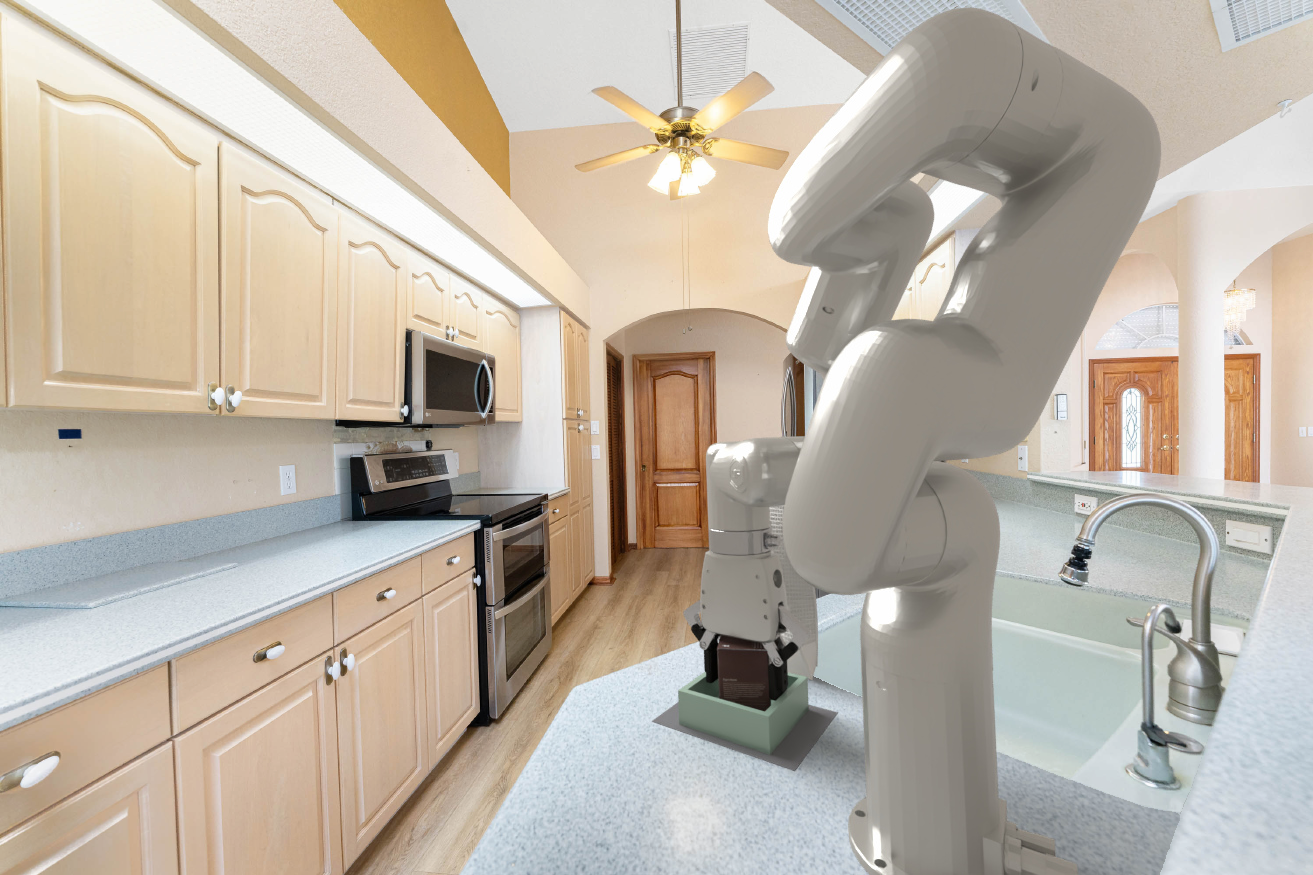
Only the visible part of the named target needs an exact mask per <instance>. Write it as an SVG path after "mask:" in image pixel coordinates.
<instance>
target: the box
mask: <svg viewBox="0 0 1313 875" xmlns="http://www.w3.org/2000/svg"><path fill="white" fill-rule="evenodd" d="M767 652H768V651H767V650H766V649H765V647H764V646H763V644H762V643H759V642H753V641H748V640H743V639H738V638H733V637H728V636H724V635H720V638H719V640H718V647H717V657H718V682H719V699H722V700H726V701H729V702H733V703H736V704H740V705H743V706H747V707H750V708H754V709H757V710H761V711H764V712H765V711H766V710H767V709H768V708H769V707H770V706H771V698H769V679H768V666H769V655H768V653H767Z"/></svg>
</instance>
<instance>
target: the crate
mask: <svg viewBox="0 0 1313 875" xmlns="http://www.w3.org/2000/svg"><path fill="white" fill-rule="evenodd" d="M808 680H809V679H808V678H807V677H805V676H801V675H797V674H792V673H788V688H787V690H786V691H785V692H784V693H783V694H782V695H781V696H780V697H779V698H778V699H777V700H776V701H774V700H771V706H770V707H769V708H768V709H767V710H766V711H765V712H764V711H761V710H757V709H754V708H750V707H747V706H743V705H740V704H736V703H733V702H729V701H726V700H722V699H719V682H718V679H717V680H716V681H714V682H713V683H711V684H710V683H707V682H706V672H705V671H703V672H702V673H701V674H699V675H698V676H697V677H695V678H694V679H692V680H691V681H690V682H688V683H686V684H685V685H684V686H682V687H681V688H679V689H678V690H677V693H678V695H677V696H678V697H677V698H678V700H677V702H678V703H679V724H680V725H683V726H686V727H689V728H692V729H695V730H698V731H701V732H704V733H707V734H710V735H712V736H715V737H718V738H721V739H724V740H727V741H730V742H733V743H736V744H739V745H742V746H745V747H748V748H751V749H754V750H757V751H760V752H763V753H766V754H769V755H770V754H771V753H772V752H773V751H774V750H775V748H776V747H777V746H778V745H779V744H780V743H781V741H782V740H783V739H784V738H785V737H786V736H787V734H788V733H789V732H790V731H791V730H792V729H793V727H794V726H795V725H796V724H797V723H798V722H799V720H800V719H801V718H802V717H803V716H804V714H805V713H806V712H807V711H808V710H809V705H810V704H809V682H808Z"/></svg>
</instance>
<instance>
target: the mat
mask: <svg viewBox="0 0 1313 875" xmlns="http://www.w3.org/2000/svg"><path fill="white" fill-rule="evenodd" d="M838 713H839V712H837V711H834V710H830V709H826V708H823V707H818V706H815V705H811V704H809V710H808V711H807V712H806V713H805V714H804V716H803V717H802V718H801V719H800V720H799V722H798V723H797V724H796V725H795V726H794V727H793V729H792V730H791V731H790V732H789V733H788V734H787V736H786V737H785V738H784V739H783V740H782V741H781V743H780V744H779V745H778V746H777V747H776V748H775V750H774V751H773V752H772V753H771V754H770V755H769V754H766V753H763V752H760V751H757V750H754V749H751V748H748V747H745V746H742V745H739V744H736V743H733V742H730V741H727V740H724V739H721V738H718V737H715V736H712V735H710V734H707V733H704V732H701V731H698V730H695V729H692V728H689V727H686V726H683V725H680V724H679V703H678V701H677V702H675V703H674V704H673V705H672V706H671V707H669V708H667V710H665V711H664V712H662V713H661V714H659V715H658V716H657V717H656V718H654V719H653V720H652V721H651V722H652V723H654V724H657V725H660V726H663V727H666V728H669V729H672V730H674V731H677V732H681V733H683V734H687V735H689V736H693V737H694V738H695V737H696V738H699V739H701V740H704V741H706V742H708V743H709V742H710V743H712V744H715V745H718V746H721V747H724V748H726V749H730V750H732V751H735V752H738V753H741V754H743V755H746V756H747V755H748V756H750V757H753V758H755V759H759V760H762V761H764V762H768V763H770V764H773V765H776V766H779V767H780V768H784V769H787V770H791V771H793V772H795V771H796V770H797V769H798V767H800V764H801V763H802V762H803V760H804V759H805V758H806V757H807V756H808V754H809V753H810V751H811V750H812V748H813V747H814V746H815V744H816V743H817V742H818V740H819V739H820V738H821V737H822V735H823V733H824V732H825V731H826V730H827V728H828V726H829V725H830V724H831V723H832V721H833V720H834V719H835V717H836V716H837V715H838Z"/></svg>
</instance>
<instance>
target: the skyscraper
mask: <svg viewBox="0 0 1313 875" xmlns="http://www.w3.org/2000/svg"><path fill="white" fill-rule="evenodd" d="M769 509H770V528H772V534H774V535H780V536H781V546H780V547H775V546H774V547H773V549H772V550H771V552H772V553H777V554H778V556H779V559H780V563H781V567H782V572H783V577H784V582H785V589H786V597H787V605H788V611H789V612H790V613H791V614H793V615H794V616H795V617H796V618H797V619H798V620H799V621H801V622H802V623H803V624H804V625H805V626H806V627H807V628H808V629H809V630H810V632H811V634H810V636H809V637H808V639H807V640H806V641H805V643H804V644H803V645H802V646H801V648H800V649H799V650H798V651H797V652H796V653H795V654H794V655H792V656H791V657H790V658H789V659H788V660H787V669H788V673H792V674H797V675H801V676H805V677H807V678H808V680H810V681H814V676H815V671H816V669H817V668H816V667H818V660H819V659H818V658H819V623H818V618H819V616H818V605H817V604H818V603H817V595H816V594H817V593H816V588H815V587H813V586H811V585H810V584H808V583H807V582H806V581H805V580H803V579H802V578H801V577H800V576H799V574H798V573H797V572H796V571H795V569H794V567H793V566H792V564H791V562H790V560H789V558H788V556H787V553H786V549H785V545H784V540H783V531H782V520H783V511H784V505H782V506H771V507H769ZM781 636H782V638H783V639H784V641H785V643H786V645H787V644H788V643H789V642H790V641H791V639H792V637H793V634H792V633H791V631H789V630H788V631H787V632H785V633H782V634H781ZM771 663H772V660H771V658H770V657H769V665H770V664H771Z"/></svg>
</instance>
